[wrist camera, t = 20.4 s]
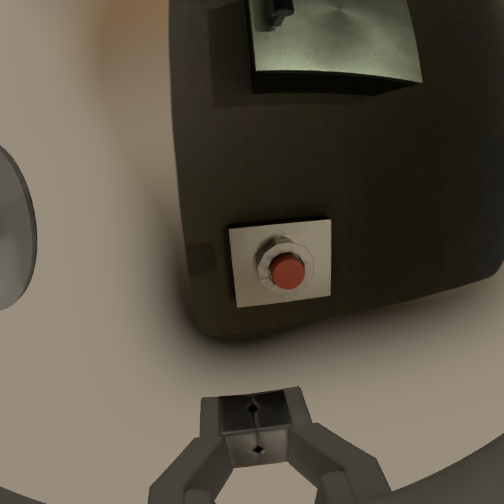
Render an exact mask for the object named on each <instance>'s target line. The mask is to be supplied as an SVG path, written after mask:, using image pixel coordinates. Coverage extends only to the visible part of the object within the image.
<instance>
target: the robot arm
mask: <svg viewBox="0 0 504 504" xmlns="http://www.w3.org/2000/svg"><path fill="white" fill-rule="evenodd" d="M281 462H289V464H290V465H292V466H293V467H294V468H295V469H296V470H297V471H298V472H299V473H300V474H302V475H303V476H304V477H305V478H306V479H307V480H308V481H310V482H311V483H312V484H313V485H314V486H315V487H316V488H318V490H317V494H316V499H315V504H504V433H503V434H502V435H500V436H499V437H497V438H496V439H494V440H493V441H491V442H490V443H488V444H487V445H485V446H484V447H482V448H480V449H479V450H477V451H475V452H474V453H472V454H470V455H468V456H467V457H465V458H463V459H462V460H460V461H458V462H456V463H454V464H452V465H450V466H448V467H446V468H444V469H443V470H441V471H438V472H436V473H434V474H432V475H430V476H428V477H426V478H424V479H421V480H419V481H417V482H415V483H413V484H410V485H408V486H405V487H403V488H400V489H398V490H395V491H391V489H390V487H389V485H388V482H387V480H386V478H385V476H384V474H383V472H382V470H381V468H380V465H379V464H378V461H377V459H376V458H375V457H373V456H371V455H369V454H368V453H366V452H364V451H362V450H361V449H359V448H357V447H356V446H354V445H352V444H351V443H349V442H347V441H346V440H344V439H342V438H341V437H339V436H338V435H336V434H334V433H333V432H331V431H330V430H328V429H327V428H325V427H323V426H322V425H320V424H319V423H312V420H311V417H310V414H309V412H308V408H307V406H306V403H305V400H304V397H303V394H302V391H301V388H300V387H299V386H297V387H291V388H285V389H283V390H282V389H280V390H274V391H266V392H259V393H252V394H244V395H232V396H219V397H205V398H202V400H201V412H200V437H197V438H194V439H193V440H192V441H191V443H190V444H189V445H188V446H187V447H186V448H185V449H184V450H183V452H182V453H181V454H180V455H179V456H178V457H177V458H176V459H175V460H174V462H173V463H172V464H171V465H170V466H169V467H168V468H167V469H166V470H165V471H164V472H163V473H162V475H161V476H160V477H159V478H158V479H157V480H156V481H155V482H154V483H153V484H152V485H151V486H150V489H149V497H148V504H216V503H215V502H214V500H215V499H216V497H217V496H218V494H219V492H220V491H221V489H222V488H223V486H224V484H225V483H226V481H227V479H228V478H229V476H230V474H231V473H232V471H233V468H240V467H249V466H256V465H263V464H273V463H281ZM0 504H46V503H42V502H39V501H36V500H33V499H30V498H28V497H25V496H22V495H20V494H17V493H15V492H12V491H10V490H7V489H5V488H3V487H0Z"/></svg>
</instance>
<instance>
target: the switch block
mask: <svg viewBox="0 0 504 504" xmlns="http://www.w3.org/2000/svg"><path fill="white" fill-rule="evenodd" d="M228 230H229V240H230V249H231V259H232V268H233V277H234V286H235V295H236V304H237V308H239V307H248V306H256V305H265V304H273V303H281V302H288V301H296V300H303V299H310V298H317V297H324V296H330V295H331V219H330V218H328V217H327V216H325V215H324V216H312V217H301V218H290V219H279V220H268V221H258V222H248V223H238V224H229V225H228ZM285 254H290V255H293V256H295V257H297V258H298V260H299V261H300V262H301V264H302V265H303V267H304V270H305V276H304V279H303V281H302V283H301V284H300V285H299V286H297V287H296V288H293V289H288V290H287V289H282V288H280V287H278V286H277V285H276V284H275V282H274V280H273V278H272V275H271V265H272V263H273V261H274V260H275V259H276V258H277V257H279V256H281V255H285Z"/></svg>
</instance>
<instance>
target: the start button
mask: <svg viewBox="0 0 504 504" xmlns="http://www.w3.org/2000/svg"><path fill="white" fill-rule="evenodd" d="M271 275H272V278H273V280H274V282H275V284H276V285H277V286H278V287H280V288H282V289H287V290H288V289H293V288H296V287H297V286H299V285H300V284H301V283H302V281H303V279H304V276H305V270H304V267H303V265H302V264H301V262H300V261H299V260H298V258H297V257H295V256H293V255H290V254H285V255H281V256H279V257H277V258H276V259H275V260H274V261H273V263H272V265H271Z"/></svg>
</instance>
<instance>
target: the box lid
mask: <svg viewBox="0 0 504 504" xmlns="http://www.w3.org/2000/svg"><path fill="white" fill-rule="evenodd" d="M248 9H249V19H250V30H251V40H252V50H253V61H254V72H255V73H277V72H298V73H328V74H343V75H355V76H366V77H374V78H382V79H390V80H397V81H403V82H409V83H415V84H421V83H423V82H422V75H421V68H420V62H419V56H418V50H417V45H416V40H415V35H414V30H413V25H412V21H411V17H410V13H409V9H408V5H407V1H406V0H248Z"/></svg>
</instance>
